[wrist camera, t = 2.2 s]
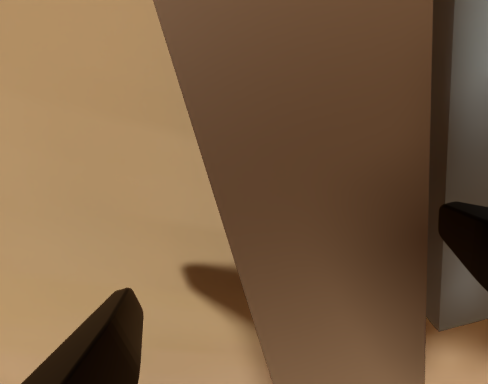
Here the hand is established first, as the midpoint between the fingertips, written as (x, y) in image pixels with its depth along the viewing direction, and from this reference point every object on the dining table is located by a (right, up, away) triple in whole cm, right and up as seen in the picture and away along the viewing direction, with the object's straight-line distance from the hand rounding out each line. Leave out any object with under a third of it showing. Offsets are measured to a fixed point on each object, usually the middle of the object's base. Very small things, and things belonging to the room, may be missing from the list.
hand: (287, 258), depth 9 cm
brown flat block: (-1, +5, 0) cm, 5 cm away
